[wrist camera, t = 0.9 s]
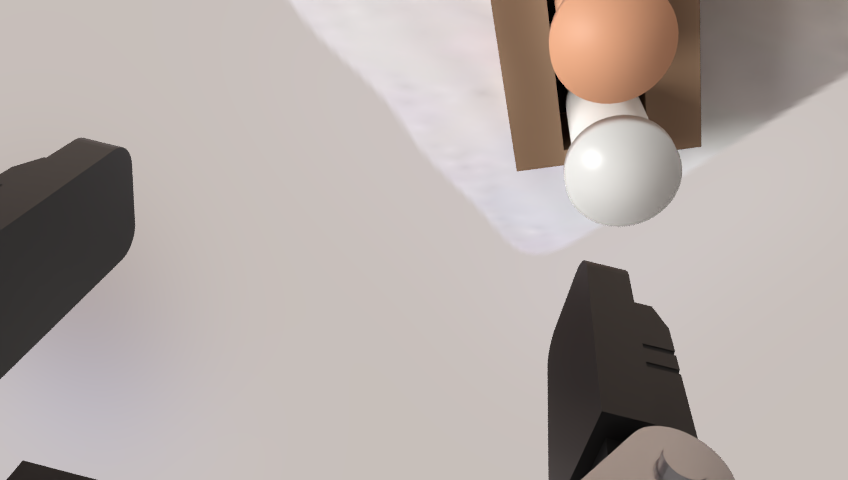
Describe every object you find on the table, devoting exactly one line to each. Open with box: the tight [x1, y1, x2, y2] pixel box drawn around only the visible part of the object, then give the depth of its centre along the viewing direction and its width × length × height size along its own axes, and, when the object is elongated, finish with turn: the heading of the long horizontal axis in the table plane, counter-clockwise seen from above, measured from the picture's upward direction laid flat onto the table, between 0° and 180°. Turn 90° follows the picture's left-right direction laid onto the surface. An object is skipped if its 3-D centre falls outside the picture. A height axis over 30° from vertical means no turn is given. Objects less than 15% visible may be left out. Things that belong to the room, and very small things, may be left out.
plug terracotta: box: [549, 0, 679, 104], centre depth 24 cm, size 4×4×9 cm
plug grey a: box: [564, 88, 682, 227], centre depth 26 cm, size 4×4×9 cm
